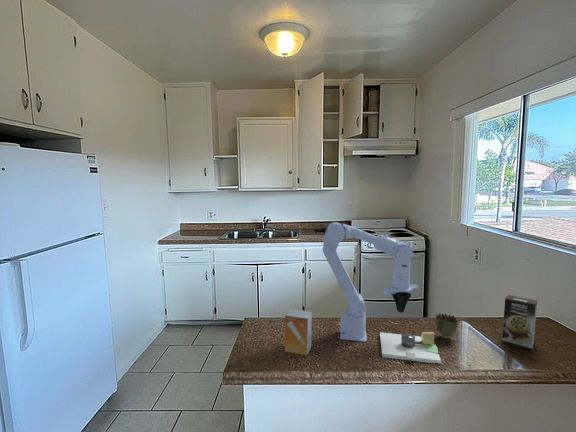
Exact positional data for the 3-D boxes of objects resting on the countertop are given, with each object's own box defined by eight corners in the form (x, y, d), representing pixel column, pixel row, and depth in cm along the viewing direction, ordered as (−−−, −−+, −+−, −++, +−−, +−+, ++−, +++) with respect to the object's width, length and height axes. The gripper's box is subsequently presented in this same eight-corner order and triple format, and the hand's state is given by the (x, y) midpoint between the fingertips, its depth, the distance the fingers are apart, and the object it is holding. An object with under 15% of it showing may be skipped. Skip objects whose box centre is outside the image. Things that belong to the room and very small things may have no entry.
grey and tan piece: (404, 347, 107) (404, 336, 107) (399, 341, 112) (399, 330, 111) (436, 346, 108) (436, 335, 107) (429, 340, 112) (430, 330, 112)
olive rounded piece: (459, 343, 113) (460, 322, 113) (437, 341, 115) (438, 320, 114) (453, 334, 121) (454, 314, 120) (432, 332, 122) (433, 312, 122)
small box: (284, 352, 107) (284, 315, 106) (289, 343, 113) (290, 308, 112) (307, 356, 104) (307, 318, 103) (311, 347, 110) (312, 311, 109)
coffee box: (501, 340, 116) (504, 298, 114) (504, 334, 120) (507, 293, 119) (532, 349, 109) (535, 304, 108) (534, 342, 114) (537, 299, 113)
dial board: (382, 359, 103) (382, 355, 102) (379, 335, 120) (379, 331, 119) (444, 367, 98) (444, 362, 98) (432, 341, 115) (432, 337, 115)
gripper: (393, 280, 109) (391, 318, 110) (425, 276, 114) (423, 312, 115) (380, 275, 115) (379, 311, 116) (411, 271, 120) (409, 306, 122)
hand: (400, 311), depth 116 cm, fingers closed
